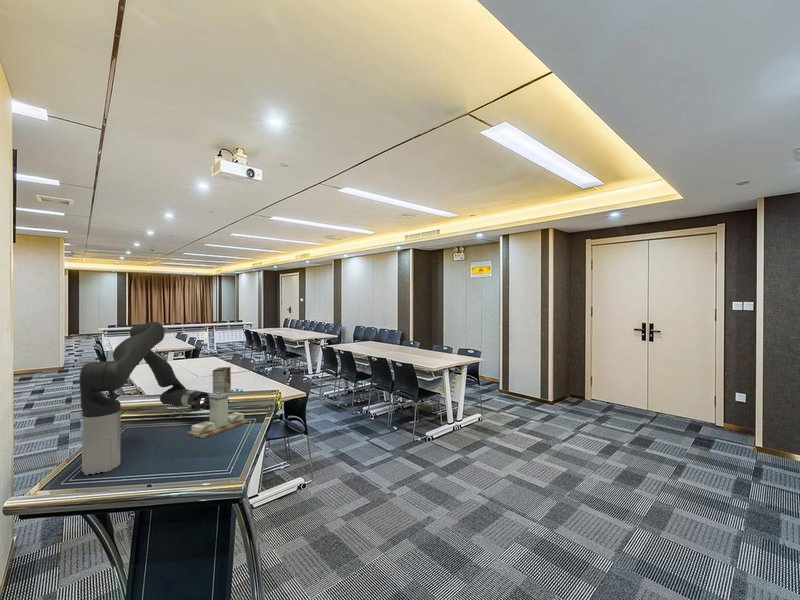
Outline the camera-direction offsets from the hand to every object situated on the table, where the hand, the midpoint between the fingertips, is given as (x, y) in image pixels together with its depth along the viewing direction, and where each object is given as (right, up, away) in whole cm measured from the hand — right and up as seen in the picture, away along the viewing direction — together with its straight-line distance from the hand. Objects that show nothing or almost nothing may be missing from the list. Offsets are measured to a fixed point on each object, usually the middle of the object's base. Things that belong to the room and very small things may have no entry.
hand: (219, 404), depth 146 cm
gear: (-8, -11, +34) cm, 37 cm away
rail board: (0, -10, 0) cm, 10 cm away
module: (0, -9, 0) cm, 9 cm away
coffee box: (-23, -11, +48) cm, 54 cm away
